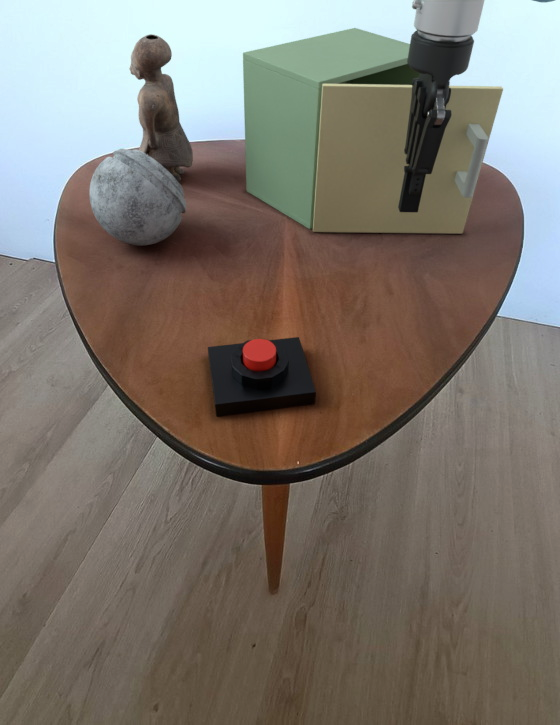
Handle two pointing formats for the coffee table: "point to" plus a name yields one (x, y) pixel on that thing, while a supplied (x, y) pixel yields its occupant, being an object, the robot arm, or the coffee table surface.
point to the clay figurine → (159, 107)
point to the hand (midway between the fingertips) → (407, 209)
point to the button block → (260, 379)
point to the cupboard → (305, 107)
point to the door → (396, 159)
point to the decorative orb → (136, 198)
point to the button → (259, 355)
